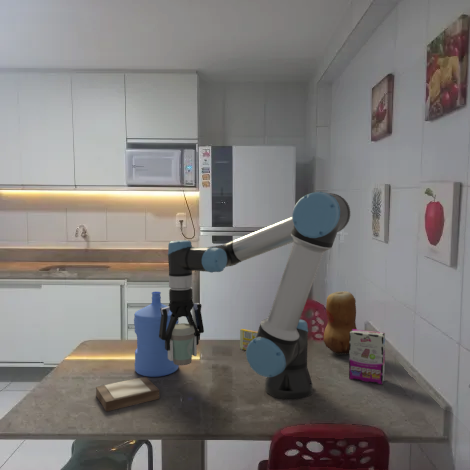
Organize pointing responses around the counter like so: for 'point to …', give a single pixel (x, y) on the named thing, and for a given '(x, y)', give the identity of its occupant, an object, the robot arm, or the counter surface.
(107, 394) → the walnut plinth
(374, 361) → the candy bar box
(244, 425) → the counter surface
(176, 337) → the coffee cup
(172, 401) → the counter surface
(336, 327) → the butternut squash
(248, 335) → the candy box
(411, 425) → the counter surface
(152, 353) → the water jug
